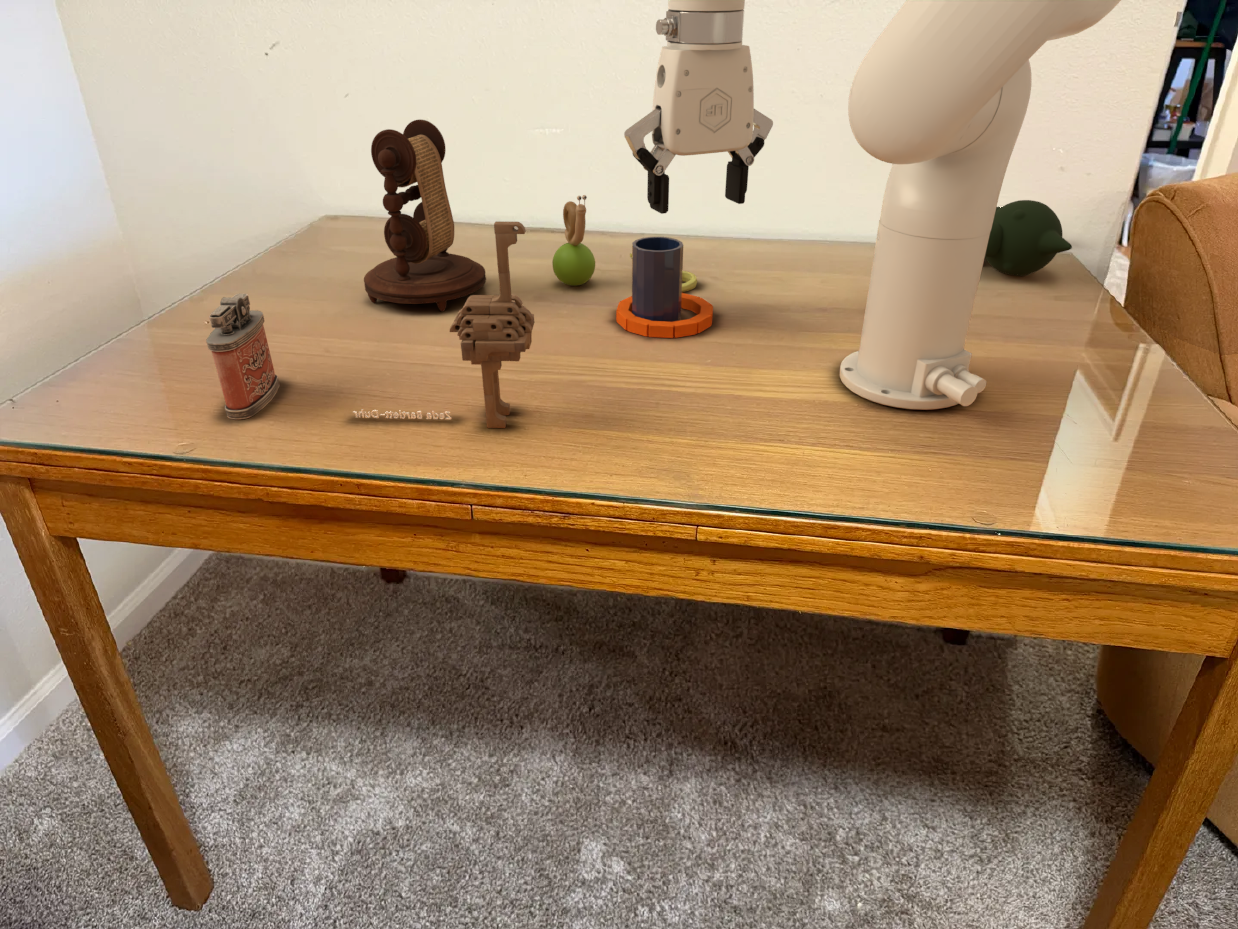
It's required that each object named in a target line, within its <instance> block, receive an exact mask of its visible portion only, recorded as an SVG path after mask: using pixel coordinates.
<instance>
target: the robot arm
mask: <svg viewBox="0 0 1238 929" xmlns="http://www.w3.org/2000/svg"><path fill="white" fill-rule="evenodd" d="M1121 1H1122V0H905V1H904V3H903V4H902V6H901V7H900V8H899V9H898V10H897V12H896V13H895V14H894V16H893V17H892V19H891V20H890V21H889V22H888V24H886V26H885V28H884V29H883V30H882V31H881V33H880V35H879V36H878V37H876V39H875V41H874V42H873V44H872V45H871V46H870V47H869V49H868V51H867V53H866V54H865V55H864V56H863V59H862V60H861V62H860V64H859V65H858V68H857V70H856V72H855V75H854V76H853V80H852V82H851V85H850V90H849V95H848V104H847V110H848V112H847V113H848V122H849V126H850V129H851V132H852V135H853V137H854V139H855V140H856V142H857V143H858V145H859V146H860V148H861V149H863V150H864V151H865V152H866V153H867V154H869V156H871V157H873V158H874V159H876V160H879V161H880V162H884V163H888V164H892V165H891V167H890V171H889V173H888V176H887V180H886V184H885V188H884V193H883V197H882V204H881V209H880V216H879V220H878V227H877V233H876V238H875V247H874V252H873V259H872V264H871V272H870V278H869V283H868V284H869V285H868V290H867V297H866V305H865V309H864V315H863V322H862V329H861V334H860V341H859V348H858V350H857V351H856V350H855V351H854V352H853V351H852V352H851V353H850V354H848V355H846V356H845V357H844V358H843V359H842V361H841V363H840V366H839V378H840V381H841V383H842V384H843V385H844V386H845V387H846V388H847V389H848V390H849V391H851V392H852V393H853V394H856V395H857V396H859V397H861V398H863V399H865V400H868V401H870V402H872V403H873V402H874V403H877V404H880V405H884V406H888V407H893V408H897V409H905V410H917V411H918V410H920V411H922V410H923V411H924V410H926V411H928V410H939V409H940V410H941V409H945V408H946V409H947V408H950V407H954V406H956V405H961V406H962V407H969V406H970V405H972V404H973V402H975V401H976V399H977V397H978V394H980V393H982V392H983V391H984V390H985V388H986V387H987V380H986V379H985V378H983V377H981V376H979V375H977V374H975V373H971V372H970V366H971V360H972V355H973V353H972V352H971V351H968V350H967V349H965V346H966V342H967V337H968V333H969V328H970V324H971V320H972V315H973V311H974V306H975V301H976V297H977V293H978V288H979V283H980V279H981V275H982V270H983V266H984V261H985V259H984V258H985V253H986V249H987V244H988V240H989V235H990V231H991V229H992V224H993V220H994V215H995V211H996V207H998V202H999V198H1000V193H1001V190H1002V186H1003V183H1004V179H1005V176H1006V172H1007V169H1008V166H1009V163H1010V160H1011V157H1012V155H1013V151H1014V149H1015V145H1016V143H1017V140H1018V137H1019V135H1020V132H1021V129H1022V126H1023V123H1024V121H1025V117H1026V114H1027V112H1028V106H1029V102H1030V99H1031V93H1032V92H1031V91H1032V69H1031V64H1030V63H1031V62H1030V59H1031V58H1032V57H1033V56H1034V55H1035V54H1036V53H1037V52H1038V50H1039V49H1041V48H1042V46H1044V45H1045V44H1046V43H1047V42H1048V41H1054V40H1059V39H1062V38H1067V37H1071V36H1075V35H1077V34H1080V33H1082V32H1084V31H1085V30H1088V29H1090V28H1091V27H1094V26H1095V25H1096V24H1098V23H1099V22H1100V21H1102V19H1104V18H1105V17H1107V16H1108V14H1110V13H1111V12H1112V11H1113V10H1114V9H1115V8H1116V6H1118V4H1119V3H1120V2H1121ZM745 2H746V0H667V9H668V10H667V11H665V17H664V18H663V19H657V20H656V23H655V31H656V34H657V35H659V36H662V35H663V36H664V37H665V41H666V45H665V46H664V45H663V46H662V47H661V49H660V53H659V58H658V62H657V67H656V73H655V80H654V86H653V87H654V88H653V97H652V98H653V99H652V107H651V108H652V110H651V111H650V112H649V113H647V115H645V116H643V117H642V118H641V119H639V120H638V121H636V122H635V123H633V125H631V126H630V127H628V128H627V129H626V130H624V133H623V135H624V136H623V137H624V138H625V140H626V142H627V145H628V147H629V149H630V150H631V153H632V157H633V158H635V160H636V161H637V162H638V163H639V164H640V165H642V167H643V169H644V171H647V191H646V192H647V194H646V196H647V199H646V200H647V202H648V204H649V207H650V209H651V210H653V211H655V212H657V213H659V214H660V215H661V214H662V215H663V214H667V213H668V212H669V204H670V202H669V200H670V198H669V197H670V176H669V175H668V174H666V170H667V169H668V167H669V165H670V164H671V163H672V161H673V159H674V158H675V157H676V155H677V156H684V157H685V156H696V155H708V154H716V153H728V154H729V157H730V158H731V160H729V161H727V164H726V172H725V173H726V175H725V188H724V189H725V191H724V197H725V199H727V200H729V201H731V202H733V203H735V204H738V205H742V204H744V203H745V201H746V193H747V191H748V181H749V168H750V166H752V165H753V164H754V162H755V158H756V157H757V155H758V154H759V153H760V152H761V151H762V149H763V148H764V146H765V141H766V140H767V138H768V136H769V134H770V132H771V131H772V128H773V125H774V121H773V119H771V118H770V117H768V116H767V115H765V114H763V113H762V112H761V111H759V110H757V109H756V108H755V107H754V106H755V105H754V104H755V100H754V98H755V96H754V94H755V93H754V90H755V89H754V74H753V62H752V54H751V48H750V46H749V45H748V44H747V45H746V44H743V37H744V36H743V35H744V24H745V6H746V5H745ZM650 133H651V140H652V143H653V145H654V146H653V147H652V149H651V150H650V151H649V149H647V146H646V144H645V141H644V139H645V137H646V136H647V135H649V134H650Z"/></svg>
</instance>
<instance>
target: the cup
mask: <svg viewBox="0 0 1238 929" xmlns="http://www.w3.org/2000/svg"><path fill="white" fill-rule="evenodd" d="M631 254H632V257H631V296H632V313H633V314H634V315H635V316H636V317H640V318H644V319H647V320H651V321H666V322H673V321H679V320H681V317H682V308H681V297H682V293H683V292H682V284H683V281H682V271H684V270H683V269H684V268H683V264H684V243H683V241H682V240H680V239H677V238H674V237H667V236H646V237H645V236H644V237H640V238H637V239H635V240H634V241H632V243H631Z"/></svg>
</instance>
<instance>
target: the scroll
mask: <svg viewBox="0 0 1238 929" xmlns="http://www.w3.org/2000/svg"><path fill="white" fill-rule="evenodd" d="M370 152H371V159H372V162H373V164H374V167H375V168H376V170H377V171H378V173H379V174H380V175H381V176H382V177H384V179H383V180H384V181H383V188H384V191H385V192H386V193H385V194H384V195H383V197H382V206H383V208H384V210H386V211H387V215H389V216H390V217H388V219H387V221H386V222H385V224H384V228H383V236H384V241H385V243H386V245H387V248H388V250H390V252H391V254H393V256H394V257H393V258H389V259H387V260H385V261H382V262H380V263H379V264H377V265H375V266H374V267H373V268H371V269H369V271H367V273H365V275H364V278H363V284H364V290H365V292H366V293H367V296H368V299H369V300H370V301H371V303H372V304H373V303H377V302H378V300H379V301H380V300H381V301H383V302H388V303H396V304H408V305H409V304H410V305H411V304H412V305H417V304H433V303H436V306H437V308H438V310H439V311H440V312H445V310H446V308H447V302H448V301H451V300H456V299H460V298H462V297H466V296H468V295H469V296H470V295H472V294H473V293H475V292H477V291H478V290H480V289H481V288H482V287H483V286H484V285H486V282H487V276H486V268H485V267H484V266H483V265H482V264H480V263H479V262H477V261H475V260H473V259H471V258H469V257H467V256H463V255H461V254H455V253H449V252H448V250H449V249H450V248H451V247H452V245H453V244H454V240H455V221H454V218H453V213H452V209H451V205H450V204H451V203H450V200H449V196H448V192H447V187H446V182H445V175H444V170H443V169H444V168H443V161H444V159H445V157H446V141H445V138H444V136H443V134H442V133H441V131H440V129H439V128H438V127H437V126H436V125H435V124H434V123H432V122H431V121H428V120H426V119H414V120H412V121H410V122H409V123H408V124H406V126H405V128H404V129H403V132H400V131H398V130H396V129H389V128H387V129H383V130H381V131H379V132H378V133H377V134H376V135H375V136H374V137H373V139H372V142H371V147H370ZM416 183H417V184H416ZM413 184H415V185H413ZM409 186H410V187H409ZM406 187H408V188H407V189H405V191H399V192H397V191H398V189H399V188H406ZM418 200H421V201H420V202H419V203H418V204H417V205H416V206H415V209H414V211H413V215H412V216H411V215H409V214H406V213H402V209H403V207H404V206H405V205H407V204H408V203H409V202H413V201H418Z"/></svg>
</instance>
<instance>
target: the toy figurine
mask: <svg viewBox="0 0 1238 929" xmlns="http://www.w3.org/2000/svg"><path fill="white" fill-rule="evenodd" d="M1002 206H1003V207H1001V208H1000V207H999V206H997V207H996V211H995V215H994V220H993V224H992V229H991V231H990V235H989V240H988V244H987V249H986V253H985V258H984V260H986V262H987V263H988V264H989V265H990V267H992V268H993V269H994V270H996V271H997V272H1000V273H1002V274H1005V275H1009V276H1016V277H1025V276H1028V275H1032V274H1034V273H1036V272H1038V271H1040V270H1042V269H1044V267H1046V266H1047V265H1048V264H1050V263H1051V261H1053V260H1054V258H1055V257H1056V255H1057V254H1060V253H1063V252H1067V251H1070V250H1072V248H1073V245H1072V244H1071V243H1070V242H1069V241H1067V239H1065V238H1064V237H1063V226H1062V222H1061V220H1060V219H1059V217H1058V215H1057V214H1056V212H1055V211H1054V210H1053V209H1052V208H1051V207H1050V206H1048V205H1047V204H1046V203H1044V202H1041V201H1037V200H1031V199H1020V200H1015V201H1012V202H1009V203H1006V204H1004V205H1002Z"/></svg>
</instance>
